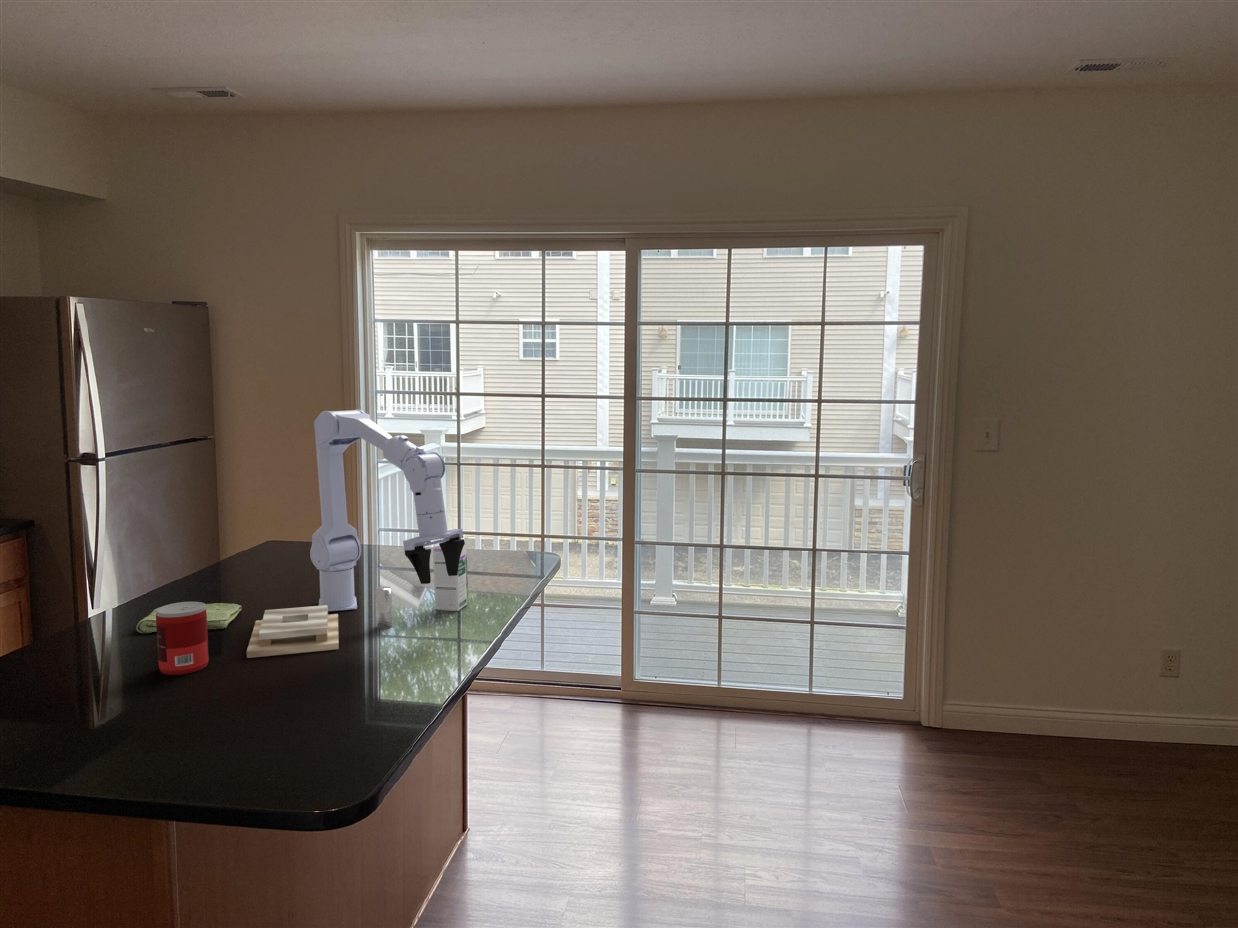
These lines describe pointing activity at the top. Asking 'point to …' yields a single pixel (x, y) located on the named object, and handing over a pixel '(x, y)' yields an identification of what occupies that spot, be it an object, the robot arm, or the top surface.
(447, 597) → the syrup box
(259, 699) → the top surface
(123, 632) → the top surface
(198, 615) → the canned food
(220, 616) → the washcloth
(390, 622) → the tube
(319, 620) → the collar stand
